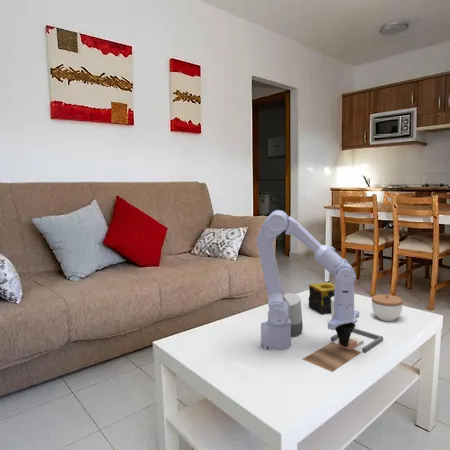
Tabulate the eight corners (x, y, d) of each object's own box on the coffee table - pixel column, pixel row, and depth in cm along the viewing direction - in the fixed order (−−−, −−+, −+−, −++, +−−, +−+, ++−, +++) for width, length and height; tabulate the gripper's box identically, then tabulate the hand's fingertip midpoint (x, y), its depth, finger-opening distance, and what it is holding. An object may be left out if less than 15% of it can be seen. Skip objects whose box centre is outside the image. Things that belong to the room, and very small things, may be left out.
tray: (364, 357, 108) (364, 348, 107) (330, 345, 116) (330, 337, 116) (383, 345, 115) (383, 336, 115) (349, 334, 124) (349, 326, 124)
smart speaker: (269, 335, 125) (269, 296, 123) (285, 327, 131) (284, 290, 130) (292, 343, 118) (292, 302, 117) (307, 335, 125) (307, 295, 123)
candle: (307, 307, 152) (307, 284, 151) (328, 304, 155) (328, 281, 154) (321, 315, 143) (321, 290, 142) (343, 312, 146) (343, 288, 145)
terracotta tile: (349, 350, 109) (350, 343, 109) (338, 345, 112) (338, 339, 112) (356, 347, 112) (357, 341, 112) (345, 343, 115) (345, 337, 115)
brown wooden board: (332, 377, 98) (332, 371, 97) (302, 363, 105) (302, 359, 105) (361, 357, 108) (361, 352, 108) (332, 346, 116) (332, 342, 115)
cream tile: (356, 350, 112) (356, 344, 112) (345, 346, 115) (345, 340, 115) (363, 346, 114) (363, 340, 114) (351, 342, 117) (351, 336, 117)
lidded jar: (406, 324, 131) (406, 299, 130) (375, 323, 133) (375, 298, 132) (397, 313, 142) (397, 290, 141) (368, 312, 144) (368, 290, 143)
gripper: (343, 312, 101) (342, 358, 103) (368, 300, 111) (367, 342, 112) (321, 306, 106) (321, 350, 108) (347, 295, 116) (347, 335, 117)
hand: (343, 345), depth 110 cm, fingers closed, pressing on terracotta tile
